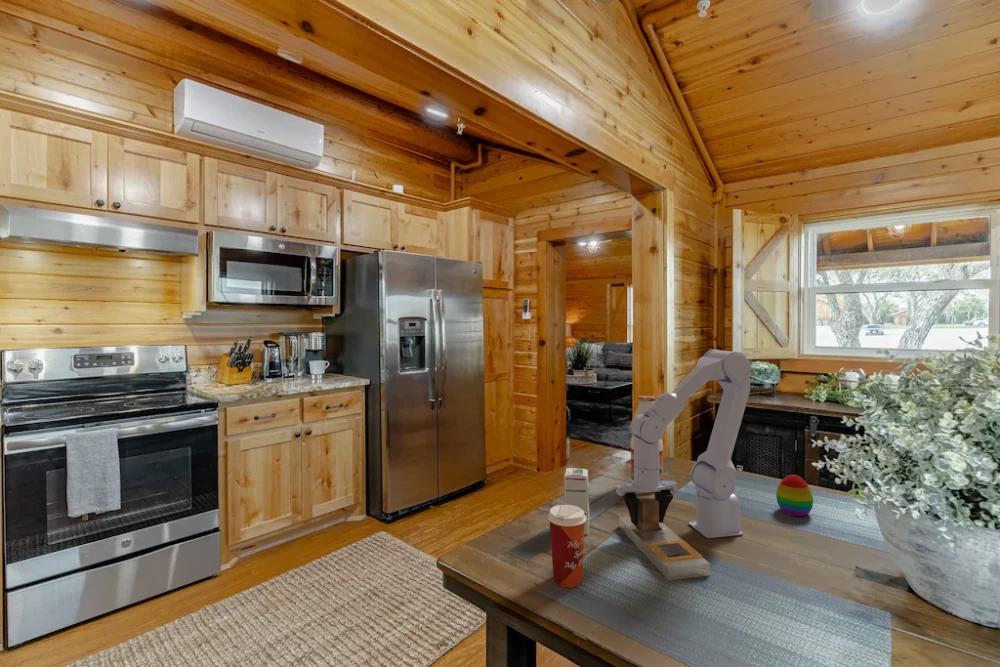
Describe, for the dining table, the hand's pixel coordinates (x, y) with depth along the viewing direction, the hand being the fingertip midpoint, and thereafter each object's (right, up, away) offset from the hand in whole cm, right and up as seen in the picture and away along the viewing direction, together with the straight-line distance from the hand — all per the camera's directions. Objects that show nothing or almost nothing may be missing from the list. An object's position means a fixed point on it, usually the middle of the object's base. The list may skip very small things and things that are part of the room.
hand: (647, 522), depth 110 cm
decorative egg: (+43, -3, +12) cm, 44 cm away
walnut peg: (0, -3, 0) cm, 3 cm away
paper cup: (-21, -5, -17) cm, 28 cm away
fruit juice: (+10, -2, +32) cm, 34 cm away
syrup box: (-16, -4, +5) cm, 17 cm away
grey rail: (+1, -4, -6) cm, 7 cm away
